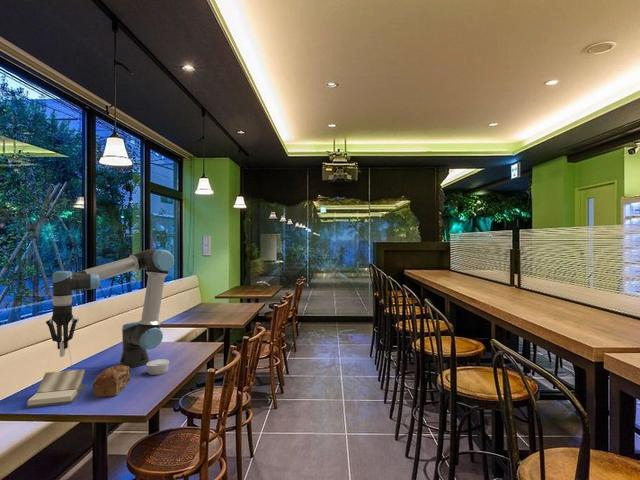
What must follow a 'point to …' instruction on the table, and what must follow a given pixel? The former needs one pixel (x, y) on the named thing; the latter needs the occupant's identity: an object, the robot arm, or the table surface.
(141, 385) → the table surface
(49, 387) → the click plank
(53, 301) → the robot arm
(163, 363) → the ramekin
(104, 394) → the bread
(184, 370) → the table surface
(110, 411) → the table surface
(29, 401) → the floor base
